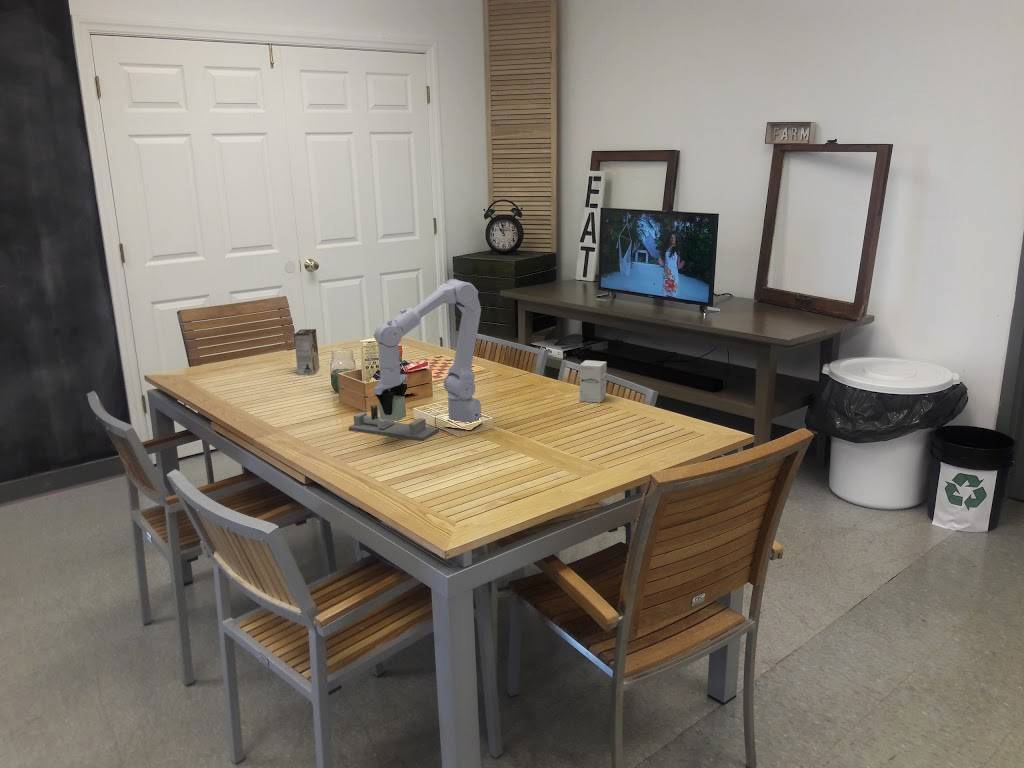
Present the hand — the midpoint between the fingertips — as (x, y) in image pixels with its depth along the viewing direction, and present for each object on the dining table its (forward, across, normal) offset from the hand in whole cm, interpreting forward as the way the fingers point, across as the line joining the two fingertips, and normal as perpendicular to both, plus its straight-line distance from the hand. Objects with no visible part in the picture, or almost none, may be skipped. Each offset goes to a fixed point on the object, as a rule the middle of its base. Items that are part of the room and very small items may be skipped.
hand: (392, 411), depth 236 cm
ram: (+7, -6, -10) cm, 14 cm away
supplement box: (+9, -58, +41) cm, 71 cm away
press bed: (+8, -6, -4) cm, 11 cm away
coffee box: (+8, -54, -73) cm, 91 cm away
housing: (+2, 0, 0) cm, 2 cm away
